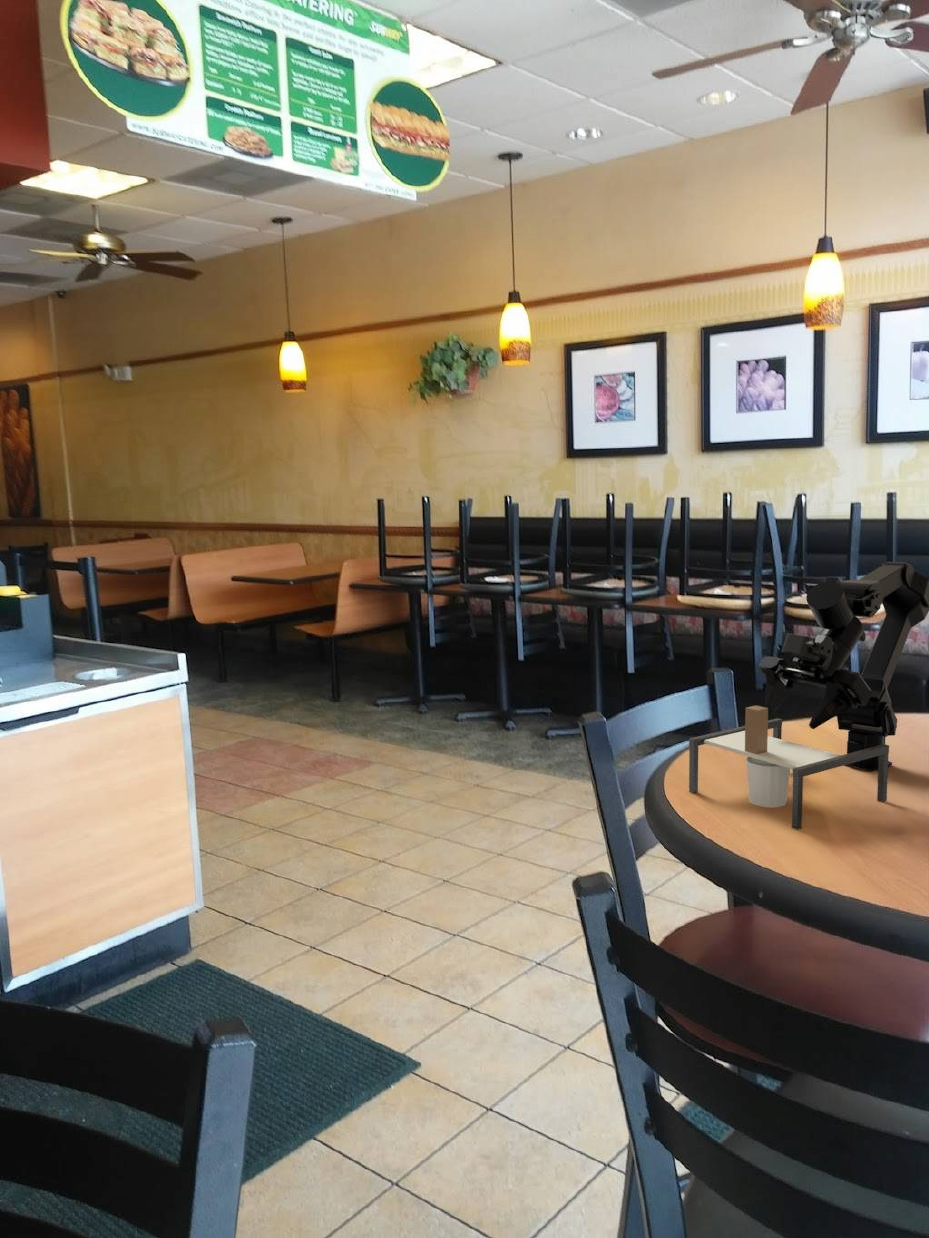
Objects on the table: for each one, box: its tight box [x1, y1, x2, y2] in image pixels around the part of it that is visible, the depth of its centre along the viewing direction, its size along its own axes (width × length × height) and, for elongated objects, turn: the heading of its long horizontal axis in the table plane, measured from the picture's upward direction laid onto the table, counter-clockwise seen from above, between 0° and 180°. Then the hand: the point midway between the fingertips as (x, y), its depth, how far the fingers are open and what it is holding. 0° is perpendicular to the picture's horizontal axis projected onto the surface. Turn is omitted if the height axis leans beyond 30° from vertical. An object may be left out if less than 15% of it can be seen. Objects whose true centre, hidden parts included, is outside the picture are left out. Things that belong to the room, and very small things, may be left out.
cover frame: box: [688, 718, 890, 830], centre depth 162 cm, size 22×22×9 cm
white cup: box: [745, 756, 791, 809], centre depth 160 cm, size 7×7×7 cm
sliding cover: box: [704, 705, 841, 770], centre depth 159 cm, size 10×19×8 cm, turn 33°
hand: (787, 721), depth 161 cm, fingers open, 9 cm apart
